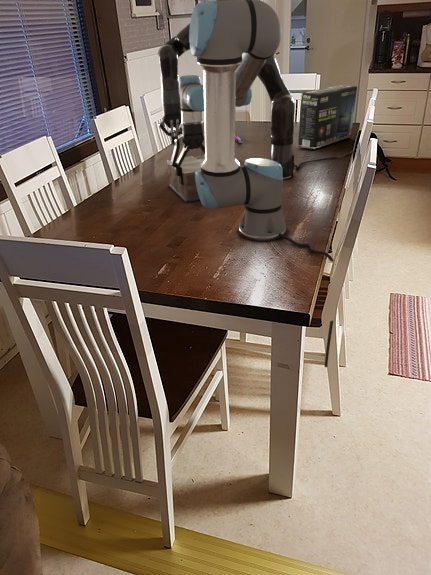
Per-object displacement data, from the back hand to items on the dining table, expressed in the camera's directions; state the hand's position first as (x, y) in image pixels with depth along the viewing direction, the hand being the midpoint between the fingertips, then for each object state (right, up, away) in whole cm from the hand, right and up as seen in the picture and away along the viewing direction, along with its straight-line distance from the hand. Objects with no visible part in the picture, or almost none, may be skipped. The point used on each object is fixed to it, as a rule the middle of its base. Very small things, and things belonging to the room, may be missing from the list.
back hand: (174, 145), depth 191 cm
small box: (+7, -20, -5) cm, 22 cm away
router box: (+75, +18, +54) cm, 94 cm away
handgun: (+27, +24, +67) cm, 76 cm away
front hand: (+9, -18, -14) cm, 25 cm away
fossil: (+16, -1, +27) cm, 31 cm away
